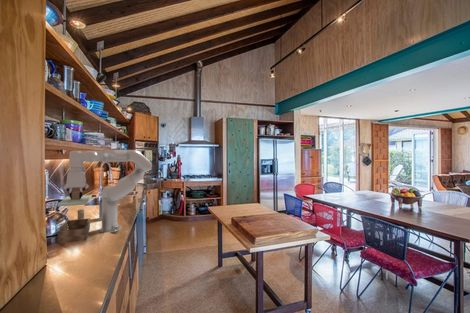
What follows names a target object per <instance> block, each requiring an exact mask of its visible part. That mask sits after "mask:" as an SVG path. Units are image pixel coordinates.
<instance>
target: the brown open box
mask: <svg viewBox="0 0 470 313" xmlns="http://www.w3.org/2000/svg"><path fill="white" fill-rule="evenodd" d="M67 224H68V226H69V230H67ZM90 229H91V218H88V217H87V218H85V219H67V221H66V220H65V221H64V223H63V224H62V225H61V226H60V228H59V230H58V231H57V245H58V244H59V245H60V244H68V243H76V242H82V241H86V240H87V238H88V236H89V232H90Z"/></svg>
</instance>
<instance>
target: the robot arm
mask: <svg viewBox="0 0 470 313" xmlns="http://www.w3.org/2000/svg"><path fill="white" fill-rule="evenodd" d="M68 156H69V158H68V159H69V168H68V169H69V171H68V172H67V176H66V183H65V184H64V186H63V187H62V189H64V190H65V191H67V192H68V194H69V196H70V198H71V199H72V192H73V189H75V188H76V189H79V192H80V194H79V198H80V199H81V197H82V196H84V195H83V194H84V193H83V192H84V191H85V190H87V189H88V188H90V185H89V184H88V183H87V179H86V175H87V174H86V171H87V168H85V167H84V164H85V162H86V163H95V162H109V163H118V162H119V163H120V162H122V163H123V162H133V163H134V164H135V165H134V170H133V171H132V172H130V173H129V174H127V175H125V176H124V177H122V178H120V179H119V180H118V181H117V182H116V185H106V186H105V187H103V188H102V191H101V199H102V220H101V228H100V229H98V230H99V232H101V233H110V234H112V233H115V232H116V233H117V232H118V231H119V230H122V225H119V222H118V200H120V199H122V198H124V197H125V196H127V195H128V194H130V193H132V192H133V191H134V189H135V188H136V185H137V183H139V182H140V181H141V180H142V179H143V178H144V176H145V173H146V172H149V171H151V169H152V167H153V164H152V162H151V161H150V159H148V158H147V157H145V155H144V154H142V153H141V152H140V151H139V150H137V149H109V150H86V151H82V150H71V151H70V152H69V155H68Z"/></svg>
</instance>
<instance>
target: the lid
mask: <svg viewBox="0 0 470 313" xmlns="http://www.w3.org/2000/svg"><path fill="white" fill-rule="evenodd" d="M79 194H80V191H72V199H71V198H70V195H69V196H66V197H64V198H63V199H62V200H61V201H59V202H58V203H57V207H58V208H59V207H71V206H73V207H74V206H85V205H87V204H88V202H89V201H90V200H91V198H92V195H91V194H89V195H88V194H87V195H83V196H82V197H81V199H80V198H79Z"/></svg>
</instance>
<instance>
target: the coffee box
mask: <svg viewBox="0 0 470 313" xmlns="http://www.w3.org/2000/svg"><path fill="white" fill-rule="evenodd" d="M98 203H99V204H98V205H99V210H98V211H99V212H98V215H99V216H98V218H99V221H102V198H101V199H100V200H99V201H98Z"/></svg>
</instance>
